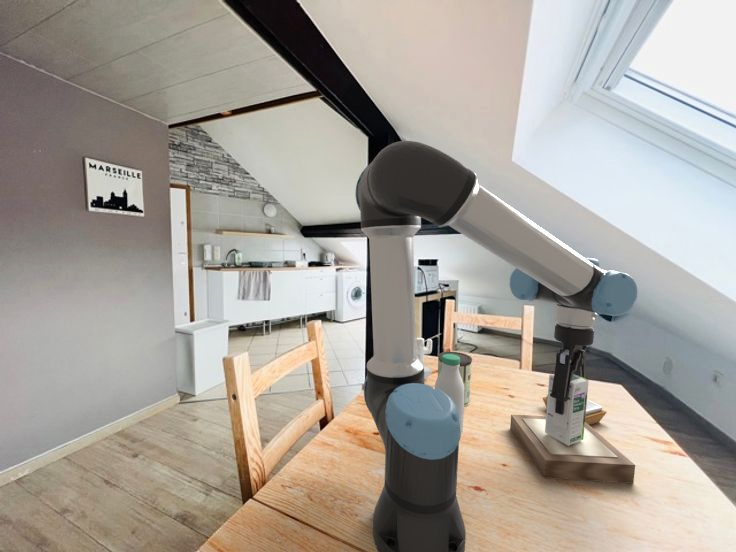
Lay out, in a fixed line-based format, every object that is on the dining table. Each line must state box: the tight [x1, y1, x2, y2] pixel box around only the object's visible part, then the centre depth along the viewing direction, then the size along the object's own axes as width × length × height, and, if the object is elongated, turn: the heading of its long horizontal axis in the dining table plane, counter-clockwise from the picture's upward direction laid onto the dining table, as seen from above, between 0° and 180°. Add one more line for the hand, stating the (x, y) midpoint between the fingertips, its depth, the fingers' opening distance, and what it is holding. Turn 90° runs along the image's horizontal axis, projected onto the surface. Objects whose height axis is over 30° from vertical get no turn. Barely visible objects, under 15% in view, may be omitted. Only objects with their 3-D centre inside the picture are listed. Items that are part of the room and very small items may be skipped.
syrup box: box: [545, 373, 589, 446], centre depth 72 cm, size 6×6×14 cm
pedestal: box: [509, 414, 636, 484], centre depth 74 cm, size 18×18×4 cm
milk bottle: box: [434, 354, 465, 436], centre depth 81 cm, size 8×8×20 cm
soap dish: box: [542, 393, 607, 426], centre depth 91 cm, size 12×10×5 cm
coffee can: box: [437, 351, 473, 408], centre depth 98 cm, size 10×10×14 cm
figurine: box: [416, 337, 434, 381], centre depth 115 cm, size 7×9×15 cm
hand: (566, 418), depth 73 cm, fingers open, 9 cm apart
